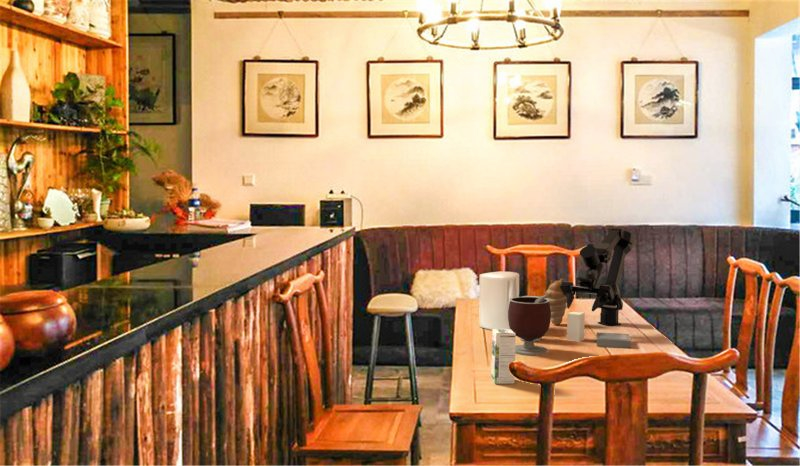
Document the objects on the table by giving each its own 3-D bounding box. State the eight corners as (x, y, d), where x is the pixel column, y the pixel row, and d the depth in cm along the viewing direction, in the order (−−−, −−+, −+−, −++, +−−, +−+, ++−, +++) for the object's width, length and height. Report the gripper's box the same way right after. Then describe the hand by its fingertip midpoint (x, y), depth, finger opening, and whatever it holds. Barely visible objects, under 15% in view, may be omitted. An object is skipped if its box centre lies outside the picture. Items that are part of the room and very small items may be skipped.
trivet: (596, 339, 258) (596, 331, 258) (628, 341, 255) (629, 333, 255) (596, 346, 247) (596, 338, 247) (630, 348, 244) (630, 340, 244)
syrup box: (490, 378, 208) (491, 328, 207) (510, 378, 208) (511, 328, 207) (494, 384, 202) (495, 333, 201) (515, 384, 203) (516, 332, 202)
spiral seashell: (560, 322, 288) (561, 277, 287) (571, 325, 281) (572, 279, 279) (541, 323, 285) (541, 278, 284) (551, 327, 278) (552, 280, 276)
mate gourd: (499, 349, 244) (499, 289, 242) (531, 344, 250) (532, 286, 249) (529, 359, 230) (529, 296, 229) (562, 353, 237) (563, 293, 235)
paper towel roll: (515, 324, 283) (515, 268, 281) (530, 332, 269) (531, 273, 268) (478, 326, 280) (478, 269, 278) (491, 334, 266) (492, 274, 264)
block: (572, 337, 261) (572, 311, 260) (584, 339, 258) (584, 312, 257) (567, 340, 257) (567, 313, 256) (579, 341, 254) (579, 314, 254)
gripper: (562, 259, 268) (549, 292, 260) (612, 263, 257) (599, 298, 249) (570, 278, 275) (557, 311, 267) (619, 282, 264) (607, 317, 256)
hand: (579, 309), depth 259 cm, fingers open, 9 cm apart
